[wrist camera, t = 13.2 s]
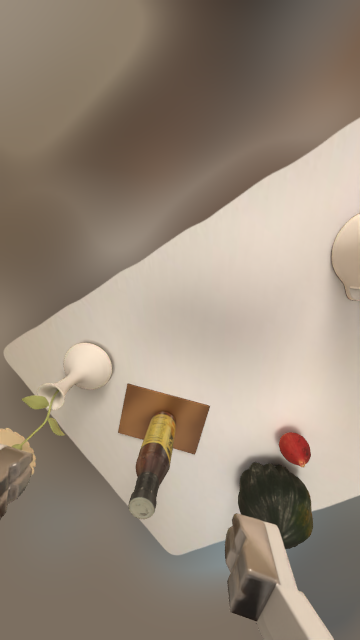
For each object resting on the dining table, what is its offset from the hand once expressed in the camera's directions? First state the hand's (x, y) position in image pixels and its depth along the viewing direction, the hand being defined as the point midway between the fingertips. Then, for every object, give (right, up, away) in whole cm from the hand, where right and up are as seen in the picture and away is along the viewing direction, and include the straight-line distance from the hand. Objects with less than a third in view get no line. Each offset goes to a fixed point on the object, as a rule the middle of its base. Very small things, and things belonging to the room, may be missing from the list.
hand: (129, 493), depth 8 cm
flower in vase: (-19, -4, +41) cm, 46 cm away
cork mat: (-2, -17, +42) cm, 46 cm away
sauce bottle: (-2, -17, +42) cm, 46 cm away
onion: (+27, -20, +40) cm, 52 cm away
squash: (+23, -32, +43) cm, 58 cm away
